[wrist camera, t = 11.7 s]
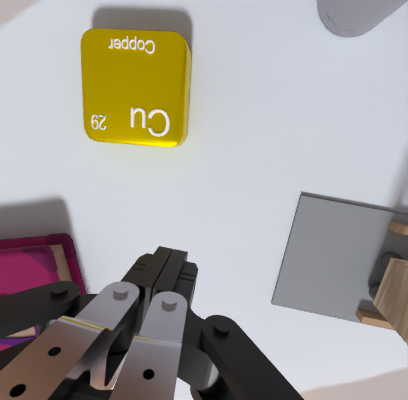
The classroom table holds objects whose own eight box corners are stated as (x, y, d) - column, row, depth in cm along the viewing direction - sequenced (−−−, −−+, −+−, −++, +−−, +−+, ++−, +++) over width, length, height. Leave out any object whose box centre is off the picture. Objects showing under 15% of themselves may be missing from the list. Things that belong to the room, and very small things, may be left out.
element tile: (193, 43, 37) (187, 29, 32) (187, 147, 41) (181, 148, 36) (95, 38, 38) (76, 25, 34) (98, 140, 42) (81, 140, 37)
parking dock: (271, 302, 45) (274, 315, 42) (300, 194, 40) (306, 200, 37) (434, 337, 43) (451, 353, 40) (486, 229, 38) (511, 238, 35)
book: (16, 358, 56) (-17, 392, 48) (-26, 240, 50) (-71, 258, 42) (105, 357, 53) (84, 392, 46) (72, 231, 47) (42, 249, 39)
